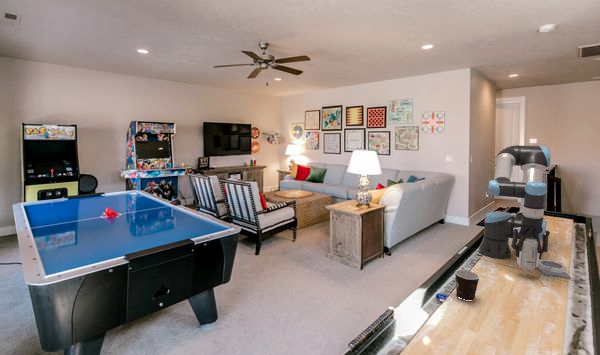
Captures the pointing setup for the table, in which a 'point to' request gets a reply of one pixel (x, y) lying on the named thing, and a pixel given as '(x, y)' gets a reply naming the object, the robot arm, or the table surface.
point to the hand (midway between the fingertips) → (527, 264)
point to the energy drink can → (529, 254)
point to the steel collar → (558, 270)
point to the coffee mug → (466, 284)
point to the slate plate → (554, 274)
